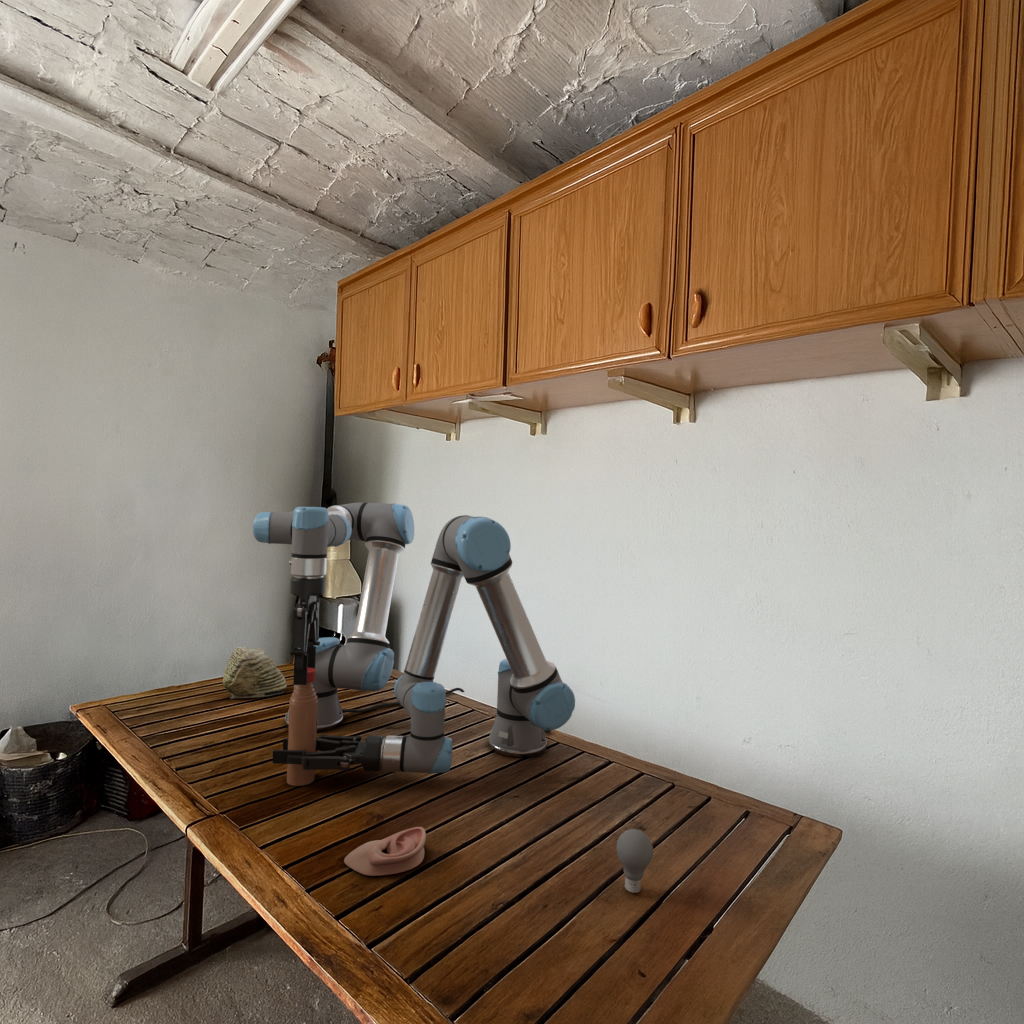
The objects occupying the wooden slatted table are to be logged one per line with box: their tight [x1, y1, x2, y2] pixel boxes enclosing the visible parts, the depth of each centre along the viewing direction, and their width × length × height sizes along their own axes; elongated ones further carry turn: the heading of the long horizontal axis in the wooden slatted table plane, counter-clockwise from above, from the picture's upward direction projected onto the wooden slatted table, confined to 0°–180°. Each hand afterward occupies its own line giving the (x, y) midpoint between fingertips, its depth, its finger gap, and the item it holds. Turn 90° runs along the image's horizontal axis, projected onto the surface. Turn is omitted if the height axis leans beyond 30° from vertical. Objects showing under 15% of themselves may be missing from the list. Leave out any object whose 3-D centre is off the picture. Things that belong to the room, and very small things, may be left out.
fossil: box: [222, 646, 288, 699], centre depth 198 cm, size 9×18×15 cm, turn 132°
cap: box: [307, 667, 316, 683], centre depth 141 cm, size 5×5×2 cm
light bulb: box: [615, 828, 654, 894], centre depth 106 cm, size 6×6×10 cm
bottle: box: [286, 682, 318, 787], centre depth 141 cm, size 6×6×24 cm
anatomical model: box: [343, 826, 427, 877], centre depth 112 cm, size 13×4×12 cm
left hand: (304, 679), depth 141 cm, fingers open, 7 cm apart
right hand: (278, 750), depth 141 cm, fingers closed on bottle, 6 cm apart
